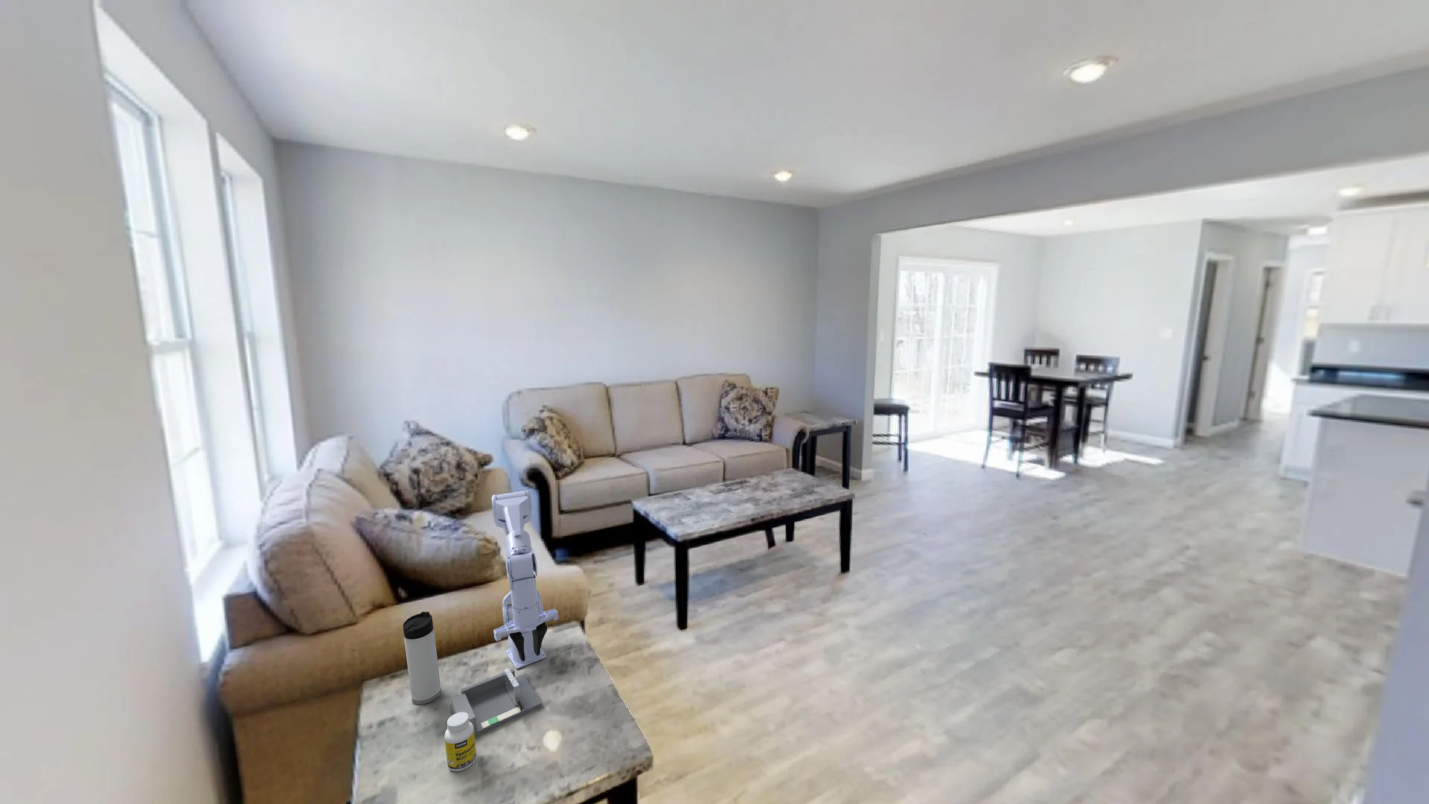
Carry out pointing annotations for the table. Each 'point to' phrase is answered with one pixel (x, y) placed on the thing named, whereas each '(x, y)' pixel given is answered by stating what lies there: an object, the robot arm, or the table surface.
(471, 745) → the supplement bottle
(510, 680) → the paddle
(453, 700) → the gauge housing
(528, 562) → the robot arm
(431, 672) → the travel mug
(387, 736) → the table surface
